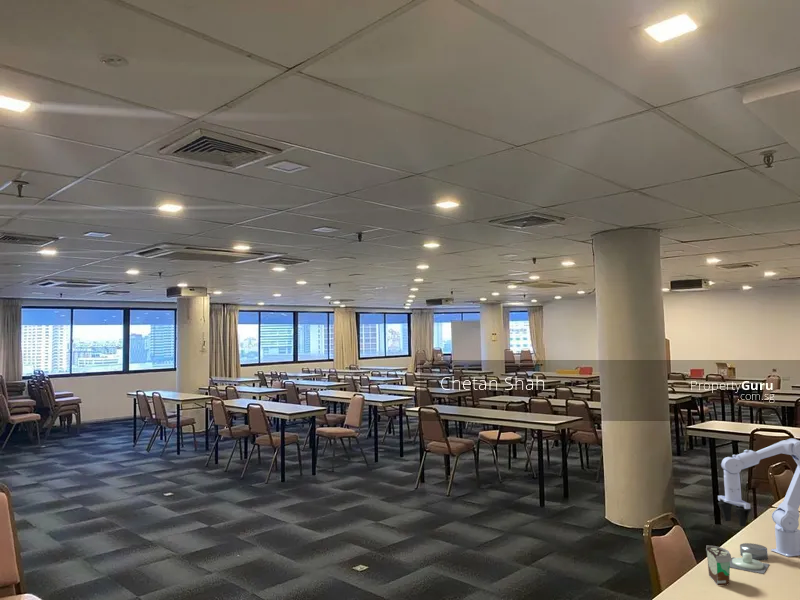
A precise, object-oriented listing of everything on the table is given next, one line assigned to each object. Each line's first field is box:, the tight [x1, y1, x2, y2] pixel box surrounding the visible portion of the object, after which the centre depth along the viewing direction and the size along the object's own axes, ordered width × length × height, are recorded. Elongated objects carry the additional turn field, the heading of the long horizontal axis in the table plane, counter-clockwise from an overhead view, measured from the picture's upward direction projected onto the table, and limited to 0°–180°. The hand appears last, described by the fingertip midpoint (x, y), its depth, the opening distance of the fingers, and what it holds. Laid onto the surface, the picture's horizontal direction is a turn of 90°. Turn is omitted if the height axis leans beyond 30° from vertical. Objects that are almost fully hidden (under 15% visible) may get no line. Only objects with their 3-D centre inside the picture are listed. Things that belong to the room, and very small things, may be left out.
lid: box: [732, 552, 764, 570], centre depth 217 cm, size 10×10×4 cm
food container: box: [705, 545, 732, 586], centre depth 203 cm, size 12×6×10 cm, turn 168°
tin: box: [739, 542, 769, 561], centre depth 227 cm, size 9×9×4 cm
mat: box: [730, 556, 770, 575], centre depth 217 cm, size 12×12×1 cm
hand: (735, 523), depth 235 cm, fingers open, 7 cm apart
